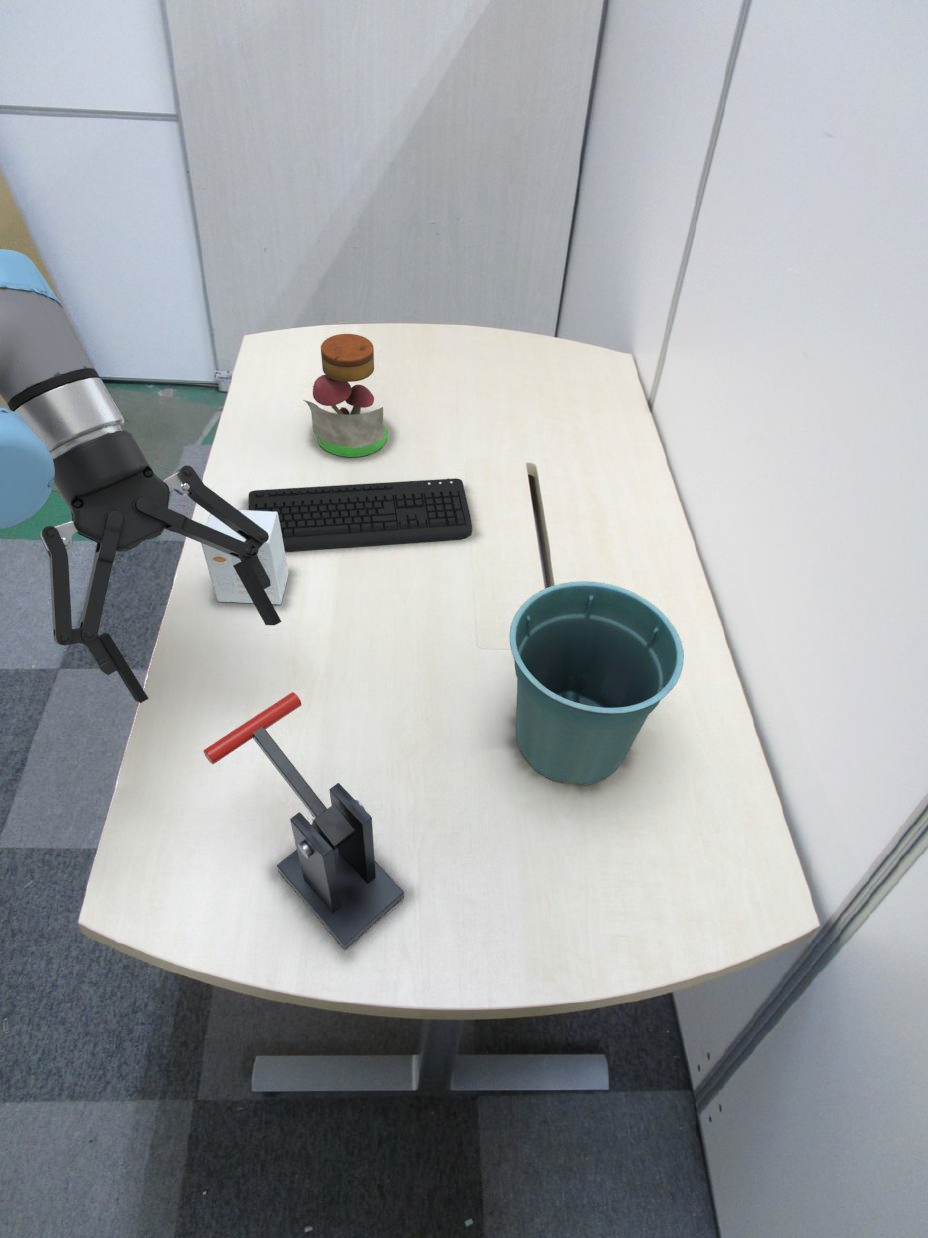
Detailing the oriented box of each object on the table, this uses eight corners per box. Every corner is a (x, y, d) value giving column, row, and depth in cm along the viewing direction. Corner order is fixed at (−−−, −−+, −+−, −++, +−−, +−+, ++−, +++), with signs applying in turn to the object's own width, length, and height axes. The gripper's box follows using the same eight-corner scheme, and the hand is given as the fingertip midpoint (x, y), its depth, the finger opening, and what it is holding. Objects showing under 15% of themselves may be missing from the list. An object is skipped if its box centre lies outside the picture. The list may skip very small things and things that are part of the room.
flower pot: (484, 682, 90) (496, 583, 78) (622, 672, 92) (654, 574, 80) (509, 811, 79) (527, 720, 67) (664, 797, 81) (709, 705, 69)
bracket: (277, 870, 74) (258, 803, 64) (337, 824, 77) (327, 754, 68) (344, 950, 69) (334, 890, 60) (404, 897, 73) (404, 833, 63)
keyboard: (249, 554, 102) (247, 543, 100) (250, 500, 109) (248, 489, 107) (473, 538, 106) (474, 527, 105) (460, 487, 113) (461, 476, 112)
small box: (289, 574, 100) (279, 510, 92) (281, 606, 96) (270, 542, 88) (226, 570, 100) (211, 506, 92) (215, 602, 96) (198, 538, 88)
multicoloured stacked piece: (307, 415, 123) (298, 325, 112) (388, 414, 125) (386, 325, 114) (306, 461, 115) (296, 369, 104) (392, 459, 117) (391, 368, 106)
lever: (203, 755, 66) (202, 746, 64) (291, 697, 71) (293, 687, 69) (296, 880, 64) (299, 874, 62) (381, 812, 68) (387, 804, 66)
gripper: (205, 401, 75) (308, 596, 81) (-68, 512, 64) (74, 730, 69) (227, 382, 69) (337, 594, 75) (-72, 501, 58) (85, 741, 63)
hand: (210, 660), depth 72 cm, fingers open, 13 cm apart
